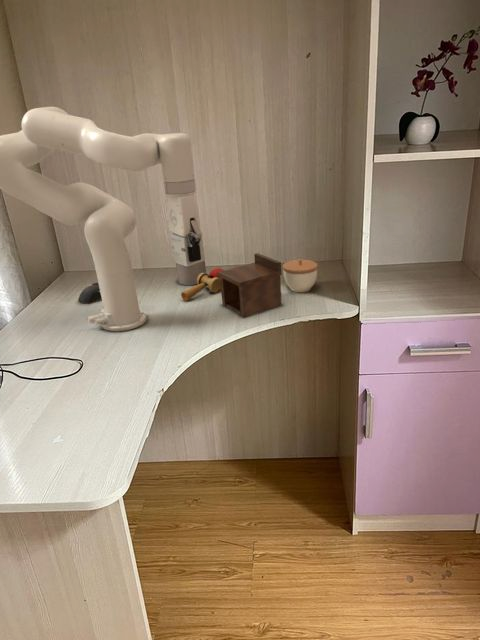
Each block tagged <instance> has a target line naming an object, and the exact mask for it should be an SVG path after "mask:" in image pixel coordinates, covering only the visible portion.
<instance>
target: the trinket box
mask: <svg viewBox="0 0 480 640" xmlns="http://www.w3.org/2000/svg"><path fill="white" fill-rule="evenodd" d="M318 269H319V264H318V263H317V261H314V260H311V259H302V258H301V259H300V258H299V259H293V260H289V261H287V262H284V263H283V265H282V270H283V271H282V274H283V279H284V282H285V284H286V286H287V287H288V288H289V289H290V290H291V291H292V292H294V293H305V292H309V291H310V290H311V288H313V287H314V285H315V284H316V282H317V279H318V271H319V270H318Z"/></svg>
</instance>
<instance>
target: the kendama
mask: <svg viewBox="0 0 480 640" xmlns="http://www.w3.org/2000/svg"><path fill="white" fill-rule="evenodd" d="M221 271H224V269H223V268H220V267H216V268H212V269H211V271H210V272H209V274H208V273H207V272H206V273H201V274H200V275H199V276H198V278H197V284H195V285H193V286H191V287H189V288H188V289H186V290H184V291H182V292H181V293H180V296H181V298H182V300H183V301H184V302H188V301H190V299H192V298H193V297H195V296H196V295H197V294H199V293H201V291H202V290H204V289H205V288H206V287H207V288H208V290H209V291H210V292H212V293H218V292H219V291H221V285H220V277H219V276H218V272H221Z"/></svg>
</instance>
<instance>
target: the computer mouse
mask: <svg viewBox="0 0 480 640" xmlns="http://www.w3.org/2000/svg"><path fill="white" fill-rule="evenodd" d="M100 300H102V298H101V293H100V288H99V284H98V282H94V283H91V284H88V286H87V287H85V288H83V290H82V291H81V293H80V294H79V297H78V299H77V301H78V302H79V303H81V304H91V303H94V302H95V303H96V302H97V301H100Z"/></svg>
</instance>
